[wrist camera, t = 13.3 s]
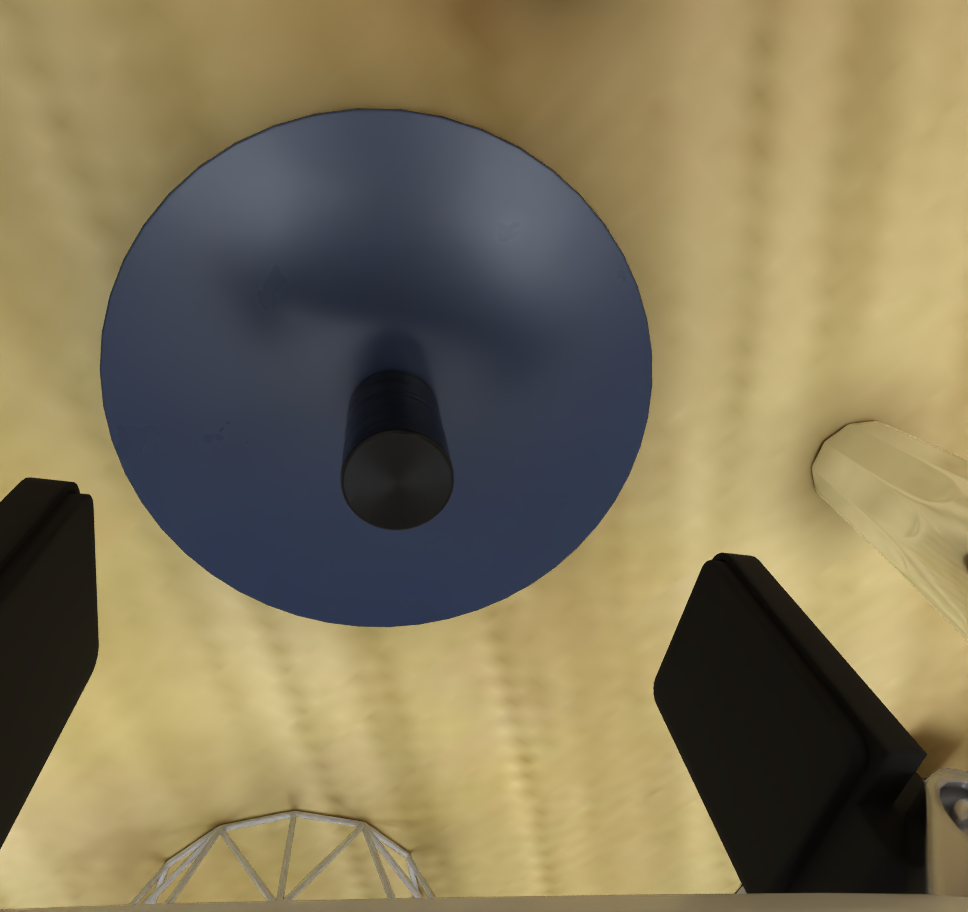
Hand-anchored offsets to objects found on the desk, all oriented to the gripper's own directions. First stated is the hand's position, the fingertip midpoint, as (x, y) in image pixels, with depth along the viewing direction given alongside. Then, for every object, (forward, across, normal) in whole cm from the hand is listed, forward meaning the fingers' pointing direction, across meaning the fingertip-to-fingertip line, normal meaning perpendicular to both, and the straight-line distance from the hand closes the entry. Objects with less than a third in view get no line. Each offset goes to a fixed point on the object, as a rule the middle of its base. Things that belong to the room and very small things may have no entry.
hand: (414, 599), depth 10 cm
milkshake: (+11, -16, +1) cm, 19 cm away
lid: (+10, 0, +1) cm, 10 cm away
